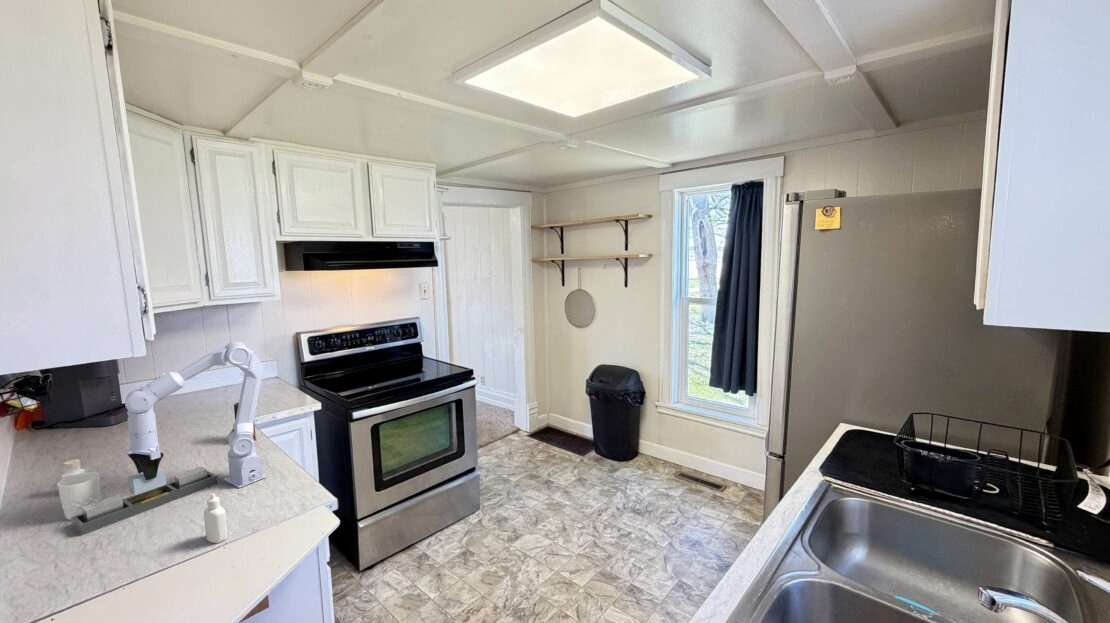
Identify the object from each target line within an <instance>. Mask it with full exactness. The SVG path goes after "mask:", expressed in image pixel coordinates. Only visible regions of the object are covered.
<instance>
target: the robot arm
mask: <svg viewBox="0 0 1110 623" xmlns="http://www.w3.org/2000/svg"><path fill="white" fill-rule="evenodd" d="M227 362H228V363H229V364H230V365H232V366H234V367H236V368H239V369H240V370H241V371H242V372H243V380H242V385H241V390H240V395H239V400H238V403H239V405H238V410H237V416H236V421H235V420H234V423H233V425H232V429H231V431H230V432H229V433H228V435H227V438H226V440H227V443H228V445H229V448H230V449H229V450H228V452H227V459H228V473H229V476H228V477H224V479H223V481H225V482H227V483H229V484H231V485H232V486H234V487H236V488H239V489H240V488H243V487H245V486H248V485H251V484H253V483H255V482H258V481H260V480H263V479H265V478H267V476H266V475H265V474H264V473H263V464H262V459H261V457H259V456H258V455H257V453H256V452H257V450H256V440H255V441H254V439H253V433H254V429H253V423H255V416H256V411H257V406H258V401H259V400H258V399H259V395H260V390H261V387H262V386H261V384H262V379H263V374H264V367H263V365H262V363H261V362H260V360H259V358H258V356H256V354H255V352H254V351H253V350H252V349H251V348H250V347H249V346H248V345H246V344H245V343H243V341H239V340H233V341H230V342H228V343H226V344H225V345H222V346H219V347H217V348H216V349H214V350H212V351H210V352H208V353H207V354H205V355H203V356H202V357H200V358H198V359H197V360H196V361H193V362H192V363H191V364H189V365H187V366H185V367H184V368H182V369H180V370H178V371H168V372H166V373H165V372H162V373H160V374H158V377H157V378H155V379H153V380H151V381H150V382H147V384H144V383H142V384H140V386H139V388H135V389H132V390H131V391H130V392H128V393H127V395H126V397H125V402H124V403H125V405H124V406H125V409H127V416H128V417H127V424H128V426H127V427H128V434H129V435H128V436H129V442H130V443H129V444H130V448H129V449H126V450H125V452H124V453H125V454H127V457H129V458H130V460H132V462H133V464H134V465H135V468H136V470H137V474H139V473H142V472H143V474H144V477H145V479H146V480H150V479H153V478H156V476H157V471H158V467H160V463H161V461H162V459H163V458H164V452H162V451H161V450H160V442H159V438H158V428H157V420H156V419H157V418H156V413H155V411H154V405H155V403H156V402H160V401H162V400H164V399H165V398H168V397H169V396H170V395H172V394H174V393H176V392H177V391H179V390H181V389H182V388H184V386H185V382H186V381H188V380H190V379H191V378H194V377H195V376H197V375H199V374H201V373H203V372H205V371H207V370H209V369H211V368H213V367H214V366H215V367H217V366H225V367H226V366H227Z"/></svg>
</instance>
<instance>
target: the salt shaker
mask: <svg viewBox="0 0 1110 623" xmlns="http://www.w3.org/2000/svg"><path fill="white" fill-rule="evenodd" d="M63 467H64V473H63V474H62V475H61V476H60V479H61V480H63V479H65V478H67V477H70V476H73V475H77V474H81V473H86V469H84V468H81V461H80V459H78V458H77V459H72V460H71V459H70V460H68V461H66V462H64V463H63ZM61 480H60V481H61Z"/></svg>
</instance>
